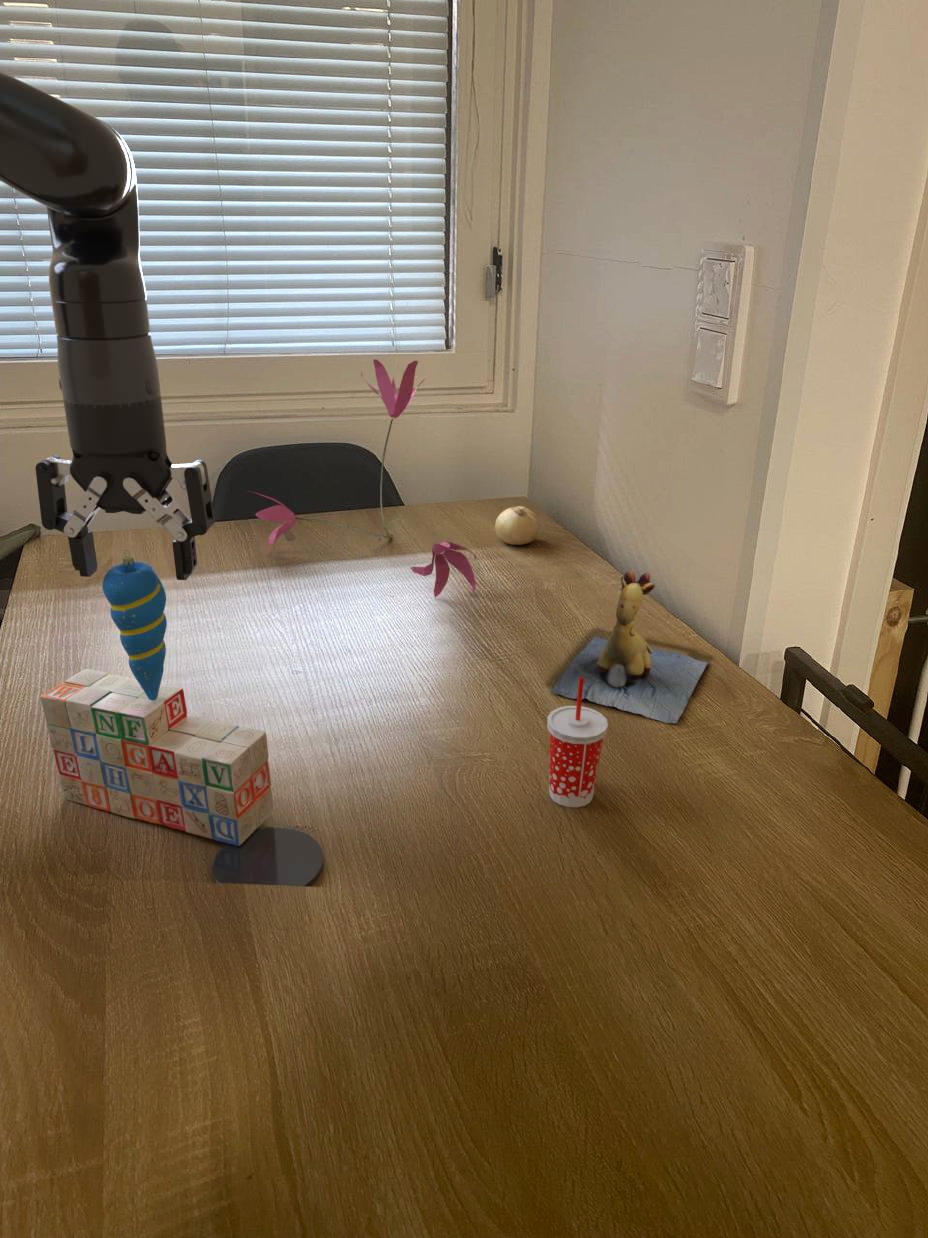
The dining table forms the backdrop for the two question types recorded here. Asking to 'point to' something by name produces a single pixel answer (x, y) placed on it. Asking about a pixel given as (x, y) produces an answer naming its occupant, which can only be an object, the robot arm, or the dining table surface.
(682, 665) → the stuffed giraffe
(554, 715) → the beverage cup
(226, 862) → the slate coaster
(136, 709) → the stack of blocks
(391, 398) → the decorative plant
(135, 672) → the ornament
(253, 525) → the dining table surface
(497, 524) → the onion
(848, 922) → the dining table surface
